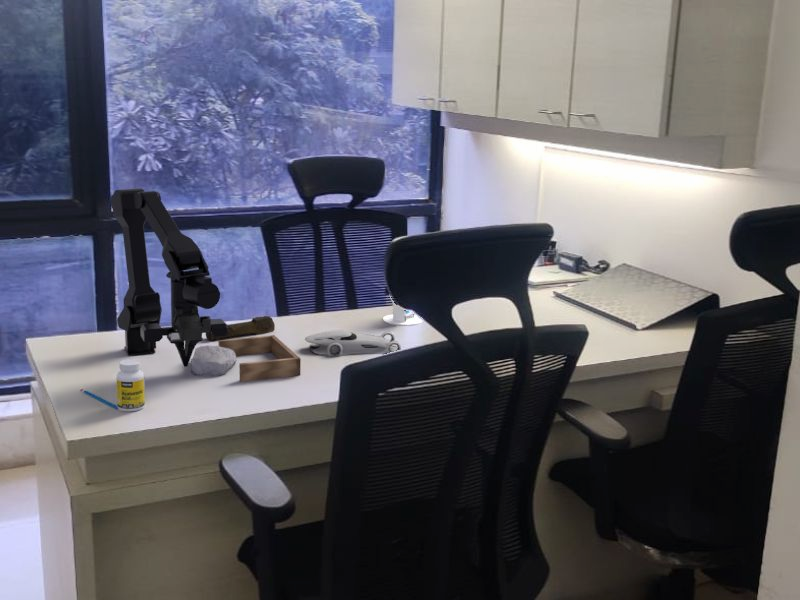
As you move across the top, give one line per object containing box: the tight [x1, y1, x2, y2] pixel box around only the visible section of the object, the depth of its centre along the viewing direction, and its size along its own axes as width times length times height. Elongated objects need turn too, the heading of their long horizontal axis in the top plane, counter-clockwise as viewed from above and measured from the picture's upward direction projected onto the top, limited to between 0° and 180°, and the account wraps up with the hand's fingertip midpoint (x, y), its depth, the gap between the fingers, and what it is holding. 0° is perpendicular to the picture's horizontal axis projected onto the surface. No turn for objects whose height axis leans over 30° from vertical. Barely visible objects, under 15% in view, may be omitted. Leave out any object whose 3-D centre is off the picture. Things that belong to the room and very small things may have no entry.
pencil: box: [79, 388, 125, 413], centre depth 186 cm, size 1×17×1 cm, turn 47°
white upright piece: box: [382, 295, 424, 327], centre depth 254 cm, size 12×11×15 cm
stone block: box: [190, 345, 238, 377], centre depth 209 cm, size 12×5×10 cm
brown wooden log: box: [205, 315, 276, 342], centre depth 235 cm, size 19×4×5 cm, turn 122°
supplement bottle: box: [115, 358, 146, 413], centre depth 182 cm, size 5×5×10 cm
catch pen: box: [217, 334, 302, 383], centre depth 212 cm, size 14×20×4 cm
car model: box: [304, 329, 402, 357], centre depth 227 cm, size 11×24×5 cm, turn 101°
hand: (185, 366), depth 205 cm, fingers closed
